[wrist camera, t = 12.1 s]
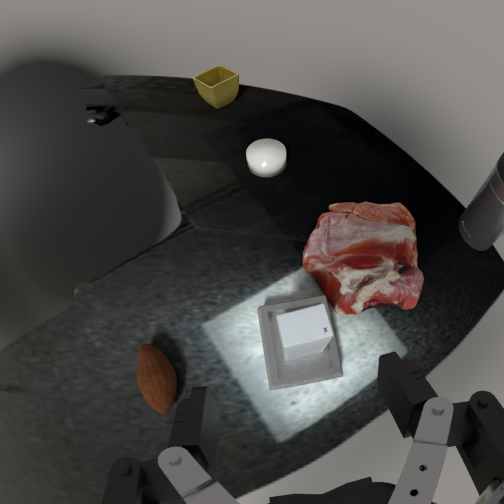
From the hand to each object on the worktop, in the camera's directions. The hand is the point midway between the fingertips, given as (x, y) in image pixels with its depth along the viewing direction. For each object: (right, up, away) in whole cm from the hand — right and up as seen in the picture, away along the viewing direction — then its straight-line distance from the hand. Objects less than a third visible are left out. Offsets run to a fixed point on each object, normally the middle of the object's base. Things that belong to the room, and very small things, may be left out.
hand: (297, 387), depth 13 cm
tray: (+5, -8, +32) cm, 34 cm away
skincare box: (+5, -8, +32) cm, 33 cm away
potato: (-16, -14, +32) cm, 38 cm away
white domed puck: (+1, +25, +50) cm, 56 cm away
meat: (+17, +4, +38) cm, 41 cm away
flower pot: (-10, +46, +62) cm, 78 cm away
